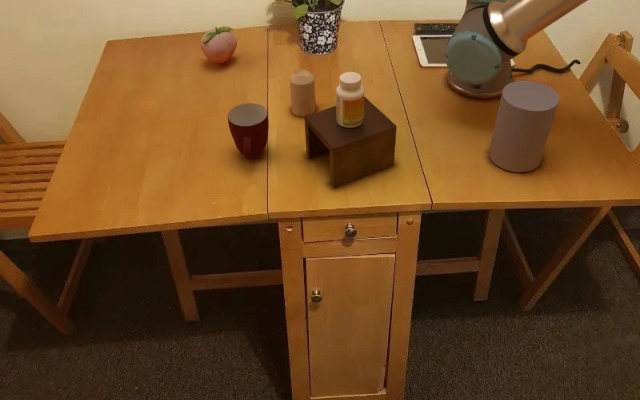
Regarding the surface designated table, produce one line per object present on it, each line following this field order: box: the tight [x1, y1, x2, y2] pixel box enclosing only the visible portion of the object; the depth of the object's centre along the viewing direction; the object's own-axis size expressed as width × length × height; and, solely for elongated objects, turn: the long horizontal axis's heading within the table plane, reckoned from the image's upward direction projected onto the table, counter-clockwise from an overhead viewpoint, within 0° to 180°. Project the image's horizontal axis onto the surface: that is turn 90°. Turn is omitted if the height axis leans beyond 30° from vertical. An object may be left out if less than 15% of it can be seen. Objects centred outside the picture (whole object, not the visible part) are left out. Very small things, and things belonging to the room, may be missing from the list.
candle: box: [289, 68, 317, 118], centre depth 131 cm, size 6×6×10 cm
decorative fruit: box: [200, 26, 238, 64], centre depth 147 cm, size 9×8×10 cm
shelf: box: [303, 95, 398, 189], centre depth 117 cm, size 14×12×10 cm
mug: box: [227, 102, 270, 160], centre depth 119 cm, size 10×8×10 cm
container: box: [488, 80, 560, 173], centre depth 115 cm, size 10×10×15 cm
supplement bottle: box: [335, 71, 365, 128], centre depth 110 cm, size 5×5×10 cm
